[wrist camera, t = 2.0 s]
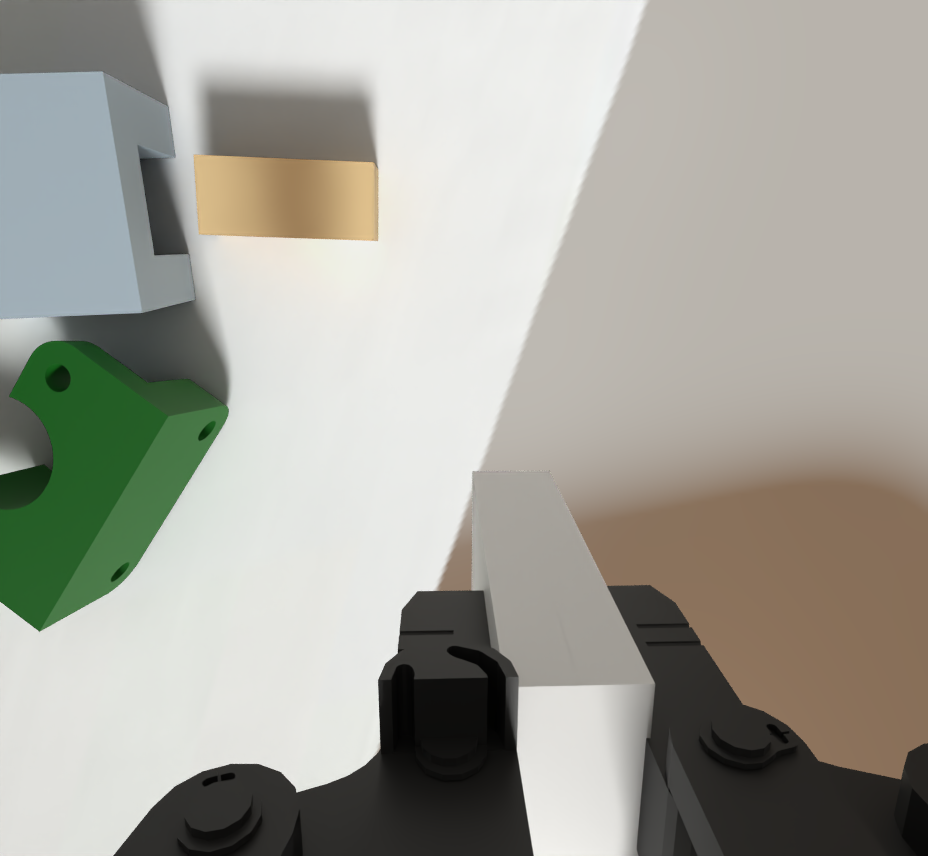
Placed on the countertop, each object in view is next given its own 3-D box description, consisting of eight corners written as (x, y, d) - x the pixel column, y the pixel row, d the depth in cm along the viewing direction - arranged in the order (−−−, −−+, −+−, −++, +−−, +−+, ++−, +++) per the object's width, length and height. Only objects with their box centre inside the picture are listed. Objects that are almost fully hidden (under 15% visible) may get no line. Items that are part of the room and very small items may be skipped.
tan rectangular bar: (220, 235, 30) (199, 234, 27) (216, 163, 29) (193, 154, 26) (378, 240, 30) (374, 240, 27) (378, 170, 30) (373, 162, 27)
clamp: (159, 361, 35) (78, 293, 26) (250, 427, 35) (198, 380, 26) (-6, 549, 33) (-158, 543, 24) (90, 621, 32) (-27, 643, 24)
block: (13, 307, 30) (-85, 322, 24) (-29, 112, 28) (-147, 77, 22) (195, 299, 30) (142, 313, 25) (168, 106, 28) (102, 71, 22)
